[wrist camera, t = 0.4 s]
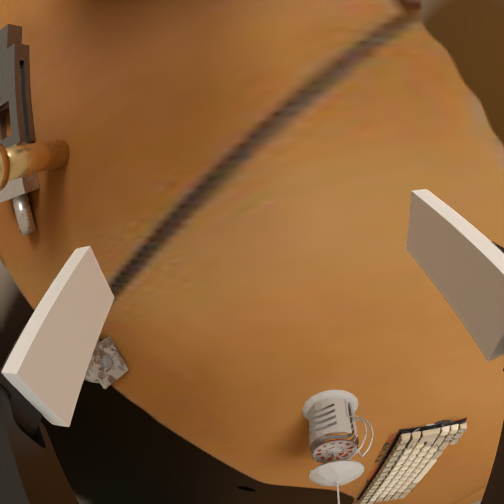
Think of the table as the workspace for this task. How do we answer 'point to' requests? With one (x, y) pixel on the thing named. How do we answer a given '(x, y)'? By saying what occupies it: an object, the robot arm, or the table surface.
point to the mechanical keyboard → (409, 459)
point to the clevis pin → (31, 159)
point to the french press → (335, 451)
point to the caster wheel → (105, 364)
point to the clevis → (17, 118)
